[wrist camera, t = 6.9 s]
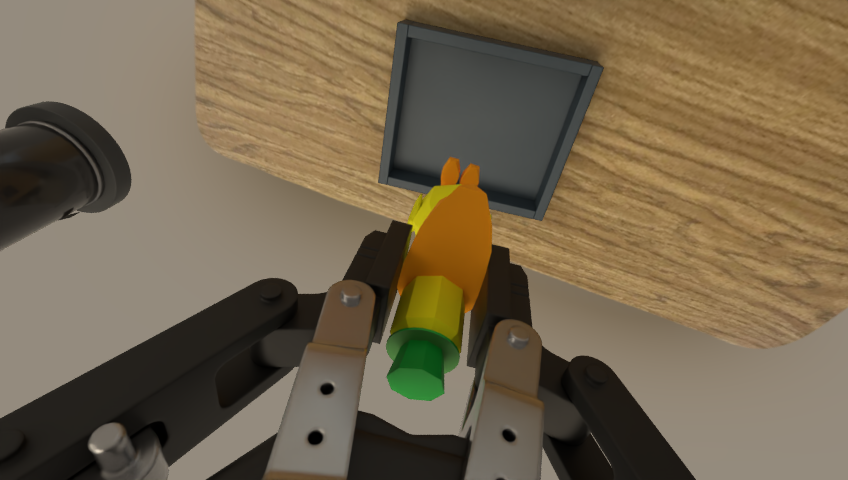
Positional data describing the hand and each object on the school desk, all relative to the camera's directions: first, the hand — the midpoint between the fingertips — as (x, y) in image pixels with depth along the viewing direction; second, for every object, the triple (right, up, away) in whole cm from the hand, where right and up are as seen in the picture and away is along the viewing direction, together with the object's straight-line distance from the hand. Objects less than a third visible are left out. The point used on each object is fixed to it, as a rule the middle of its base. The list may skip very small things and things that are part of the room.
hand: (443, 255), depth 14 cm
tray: (+4, +10, +19) cm, 22 cm away
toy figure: (+1, +4, +6) cm, 7 cm away
